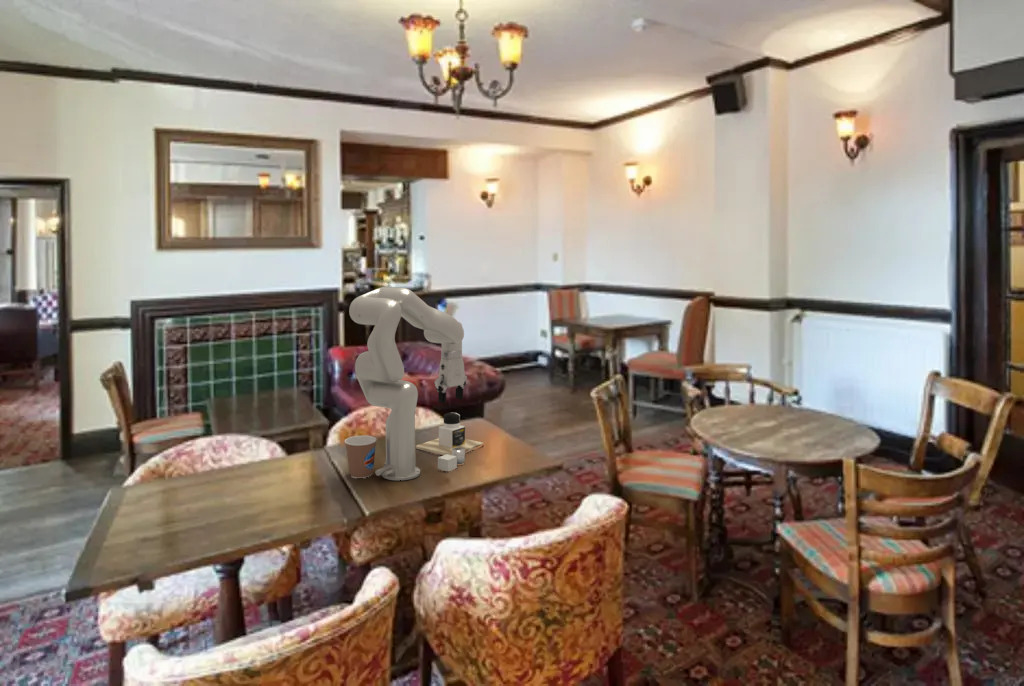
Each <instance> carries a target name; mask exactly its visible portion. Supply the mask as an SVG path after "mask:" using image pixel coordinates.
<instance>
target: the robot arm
mask: <svg viewBox="0 0 1024 686" xmlns="http://www.w3.org/2000/svg"><path fill="white" fill-rule="evenodd" d="M348 312H349V313H348V314H349V316H350V319H351V320H352V321H353V322H354V323H356V324H358V325H367V326H368V325H369V326H374V327H373V330H372V331H371V333H370V335H369V336H368V339H367V345H366V347H367V350H368V351H364V352H362V353H360V354H359V355H358V357H357V358H356V360H355V363H354V370H355V371H354V372H355V375H356V378H357V381H358V383H359V386H360V389H361V392H363V394H364V397H365V399H366V401H367V402H368V404H370V405H372V406H374V407H379V408H385V409H389V410H390V409H391V411H390V413H389V415H388V416H387V418H386V420H385V427H384V428H385V462H384V463H383V467H382V468H378V469H375V476H378V477H379V476H381V477H382V478H383V479H385V480H389V481H395V482H396V481H399V482H400V480H401V481H407V480H412V479H415V478H418V477H419V476H420V474H421V469H420V468H419V467H418V466H416V410H417V403H418V397H419V391H418V388H417V386H416V385H415V384H414V383H412V382H410V381H407V380H403V378H404V375H405V367H404V363H403V361H402V360H403V359H402V358H401V355H400V352H399V349H398V347H397V343H396V339H395V338H396V332H397V328H398V326H399V323H400V320H401V318H403V319H404V320H405V321H406V322H407V323H409V324H410V325H411V326H413V327H414V328H418V329H420V330H423V336H424V338H425V339H426V340H427V341H428V342H429V343H434V344H441V351H440V352H441V354H440V358H441V359H440V362H439V368H438V369H439V370H438V377H437V378H436V379H435V380H434V385H435V389H436V391H437V392H438V395H437V397H438V403H439V404H447V392H446V390H447V389H448V388H453V387H456V388H455V399H456V400H464V389H465V385H466V383H467V380H468V376H467V375H466V373H465V363H464V358H463V355H462V354H463V339H464V336H465V331H464V327H463V324H462V323H461V322H460V321H458V320H457V319H456V318H455V317H453V316H452V315H450V314H448V313H446V312H443V311H441V310H439V309H437V308H434V307H432V306H430V305H428V304H427V303H426V302H425V301H424V300H423V299H421V298H420V297H419V296H418V295H417V294H416V293H415V292H413V291H412V290H411V289H409V288H406V287H401V286H400V287H396V286H395V287H394V286H393V287H392V286H381V287H379V288H376V289H373V290H371V291H368V292H366V293H364V294H362V295H359V296H357V297H355V298H354V299H353V300H352V301H351V302H350V305H349V311H348Z"/></svg>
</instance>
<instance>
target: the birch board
mask: <svg viewBox="0 0 1024 686" xmlns="http://www.w3.org/2000/svg"><path fill="white" fill-rule="evenodd" d="M482 444H484V442H481V441H476V440H472V439H469V438H467V439H466V438H465V444H464V445H461V446H459V447H456V448H463V449H465V452H466V451H468V450H471V449H473V448H475V447H478V446H480V445H482ZM484 445H485V444H484ZM416 448H417V449H421V450H425V451H430V452H435V453H438V454H443V455H446V454H448V455H452V448H448V447H444V446H440V445H439V437H438V438H435V439H431V440H429V441H426V442H422V443H419V444H417V445H416V444H415V449H416ZM453 449H454V448H453Z"/></svg>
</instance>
